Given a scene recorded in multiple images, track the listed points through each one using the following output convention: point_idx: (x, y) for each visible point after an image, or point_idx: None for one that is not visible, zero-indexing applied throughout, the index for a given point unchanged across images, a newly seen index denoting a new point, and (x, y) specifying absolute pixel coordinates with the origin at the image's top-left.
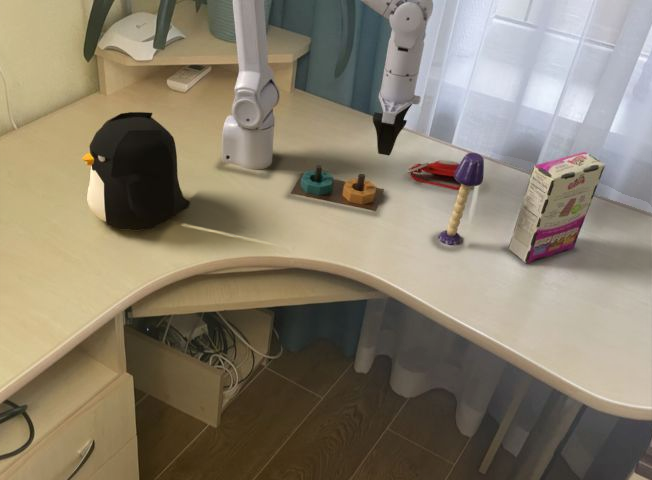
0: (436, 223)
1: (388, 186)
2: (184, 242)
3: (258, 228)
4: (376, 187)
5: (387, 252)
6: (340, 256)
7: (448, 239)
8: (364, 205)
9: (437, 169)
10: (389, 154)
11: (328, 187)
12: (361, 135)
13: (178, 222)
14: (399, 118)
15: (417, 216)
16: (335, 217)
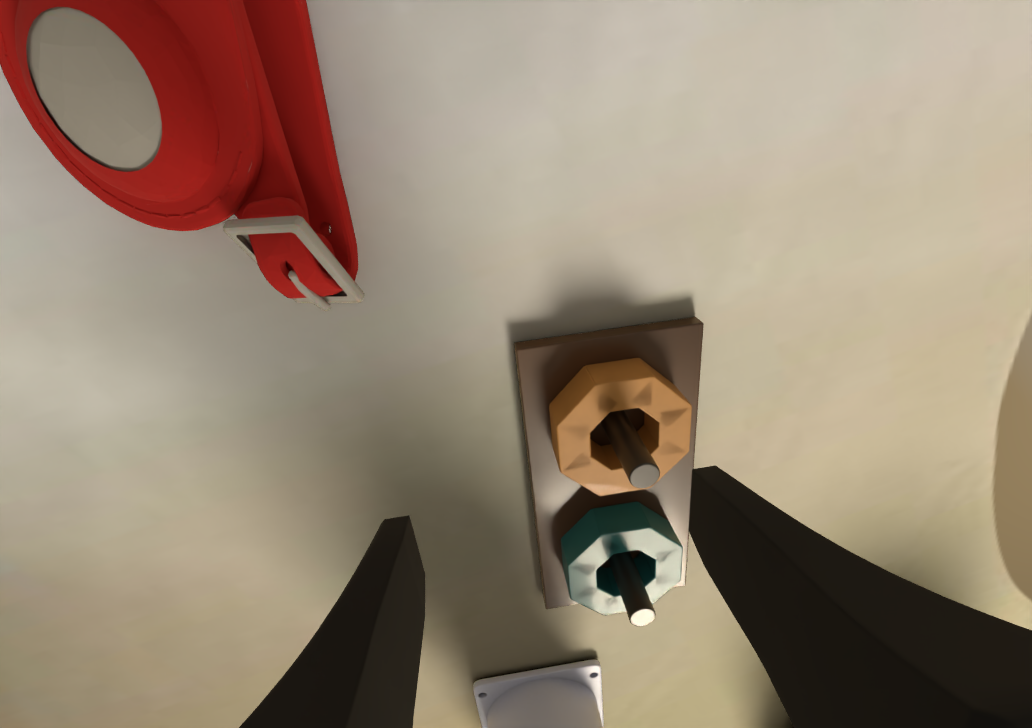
0: (673, 17)
1: (449, 340)
2: None
3: None
4: (598, 383)
5: (951, 183)
6: (987, 333)
7: None
8: (678, 374)
9: (257, 142)
10: (722, 471)
11: (655, 523)
12: (105, 565)
13: None
14: (386, 653)
15: (643, 138)
16: (754, 429)
